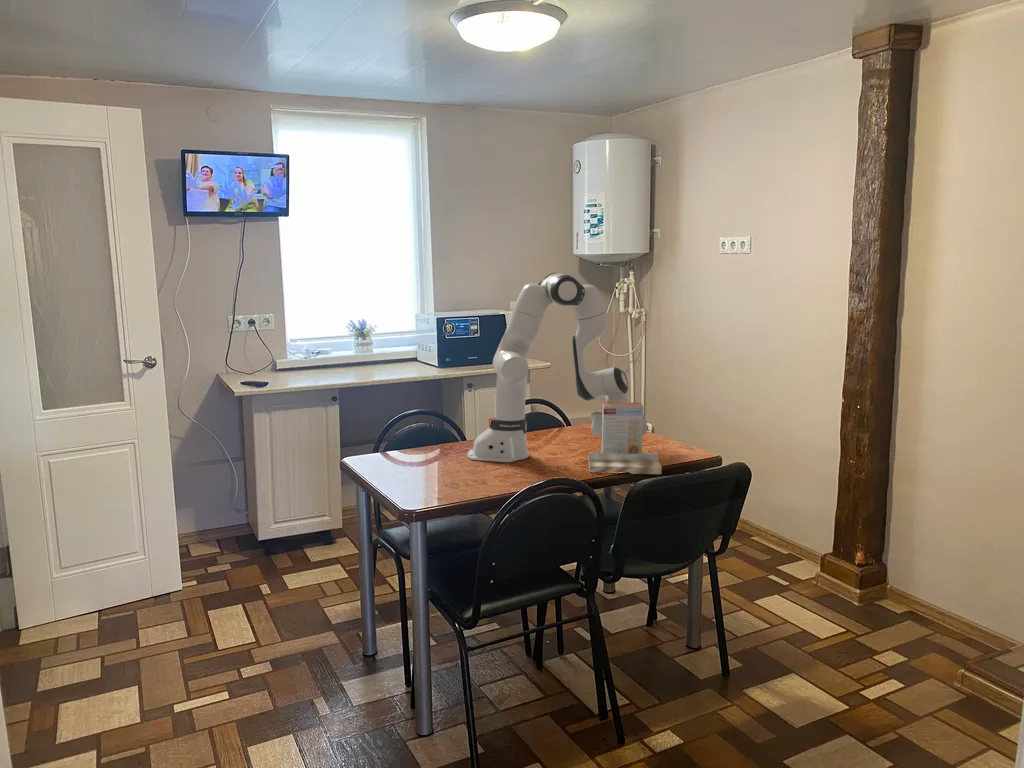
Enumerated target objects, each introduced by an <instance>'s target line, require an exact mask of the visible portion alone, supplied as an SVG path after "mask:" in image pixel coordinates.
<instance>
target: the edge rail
mask: <svg viewBox="0 0 1024 768" xmlns="http://www.w3.org/2000/svg"><path fill="white" fill-rule="evenodd" d="M659 454H660V453H659V452H642V453H621V452H601V451H588V462H589V461H639V462H659V461H660V460H659V459H660V457H659V456H660V455H659ZM659 463H660V462H659Z"/></svg>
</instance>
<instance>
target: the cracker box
mask: <svg viewBox="0 0 1024 768" xmlns="http://www.w3.org/2000/svg"><path fill="white" fill-rule="evenodd" d="M643 415H644V406H643V404H642V403H641V402H629V403H606V402H602V435H601V447H600V448H601V450H600V452H621V453H643V451H642V450H643V435H642V427H643Z"/></svg>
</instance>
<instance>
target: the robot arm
mask: <svg viewBox="0 0 1024 768" xmlns="http://www.w3.org/2000/svg"><path fill="white" fill-rule="evenodd" d="M551 304H556V305H561V306H564V307H565V306H570V307H571V308H572V309H573V311H574V315H575V318H576V322H577V323H576V325H577V327H576V331H575V332H574V333H573V334H572V354H573V355H572V356H573V363H574V365H573V366H574V373H575V389H576V393H577V396H578V397H579V398H581V399H582V400H585V401H587V402H588V401H591V400H594V399H596V398H602V397H605V400H606V402H605V403H630V401H629V395H630V394H629V383H628V377H627V374H626V373H625V372H624V371H623V370H622V369H620V368H619V367H608V368H604V369H601V370H597V371H593V372H591V371H590V372H589V371H588V369H587V360H586V349H587V348H588V347H589V345H591V344H593V343H594V342H596V340H597V341H598V339H599V338H601V337H602V336H603V335H604V334H605V333H606V331H607V330H608V328H609V319H608V318H609V317H608V314H607V311H606V308H605V307H606V306H605V303H604V300H603V299H602V297H601V294H600V292H599V290H598V288H597V287H596V286H595V285H593V284H586V283H585V284H581V283H580V282H579V281H578V280H577V278H575V277H574V276H572V275H570V274H567V273H564V272H553V273H549V274H548V275H546V276H545V277H544V279H543V278H542V280H541V281H540V282H539V283H527V284H526V285H524V286H523V288H522V289H521V291H520V292H519V295H518V296H517V299H516V302H515V304H514V306H513V309H512V312H511V315H510V318H509V321H508V324H507V326H506V329H505V332H504V334H503V336H502V337H501V340H500V343H499V344H498V347H497V350H496V352H495V353H494V356H493V359H492V368H493V370H494V372H495V373H496V384H495V385H496V386H495V394H494V417H493V416H489V417H488V427H489V428H487V429H486V430H485V431H483V432H482V433H480V434H479V435H478V436H476V438H475V440H474V443H473V448H471V449H469V450H468V451H467V458H468V459H469V460H472V461H483V462H484V461H485V462H499V463H513V462H515V461H520V460H525V459H528V458H529V457H530V453H529V450H528V444H527V434H526V433H527V430H528V429H527V417H526V392H527V386H528V376H529V363H528V360H527V359H526V358H527V356H528V354H529V352H530V349H531V348H532V346H533V344H534V342H535V341H536V339H537V336H538V333H539V330H540V327H541V325H542V323H543V319H544V315H545V312H546V311H547V309H548V307H549V306H550V305H551ZM589 417H590V421H591V422H592V423H591V433H592V435H595V436H599V435H600V436H602V411H596V410H595V411H592V412H591V414H590V416H589ZM647 431H648V425H647V420H646V416H645V415H644V414H643V427H642V436H645V435H646V434H647V433H648V432H647Z"/></svg>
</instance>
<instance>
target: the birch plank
mask: <svg viewBox="0 0 1024 768" xmlns="http://www.w3.org/2000/svg"><path fill="white" fill-rule="evenodd" d="M588 465H589V466H588V469H590V470H589V473H590V472H629V473H631V474H632V475H635V474H636V475H662V471H663V467H662V465H661V463H660V462H639V461H589V460H588ZM631 474H630V475H631Z"/></svg>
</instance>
